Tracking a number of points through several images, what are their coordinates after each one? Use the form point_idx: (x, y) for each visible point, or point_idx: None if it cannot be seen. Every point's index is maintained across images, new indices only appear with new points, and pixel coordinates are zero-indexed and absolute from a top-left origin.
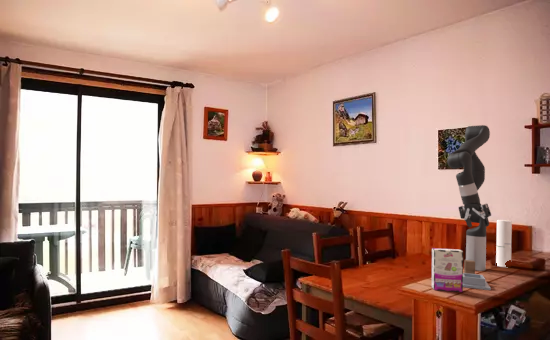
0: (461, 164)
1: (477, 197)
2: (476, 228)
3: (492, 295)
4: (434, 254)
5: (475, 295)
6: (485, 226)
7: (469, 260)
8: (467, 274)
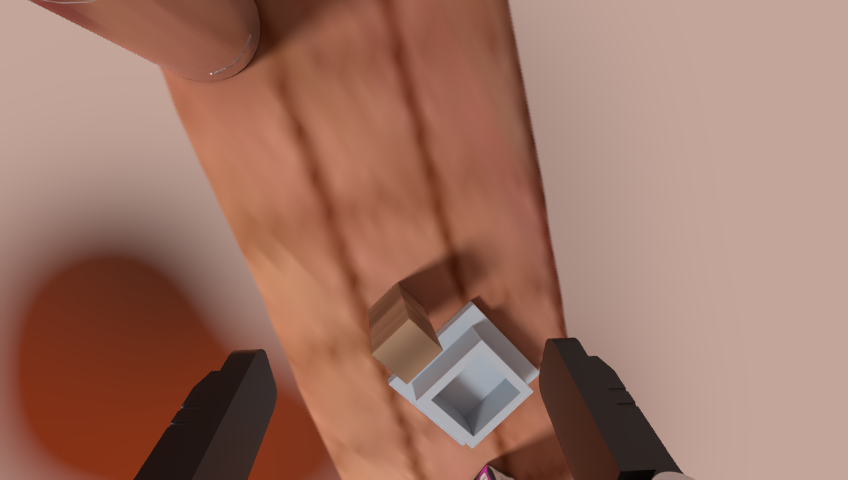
0: None
1: None
2: None
3: None
4: None
5: (549, 463)
6: (543, 384)
7: (395, 340)
8: (442, 387)
